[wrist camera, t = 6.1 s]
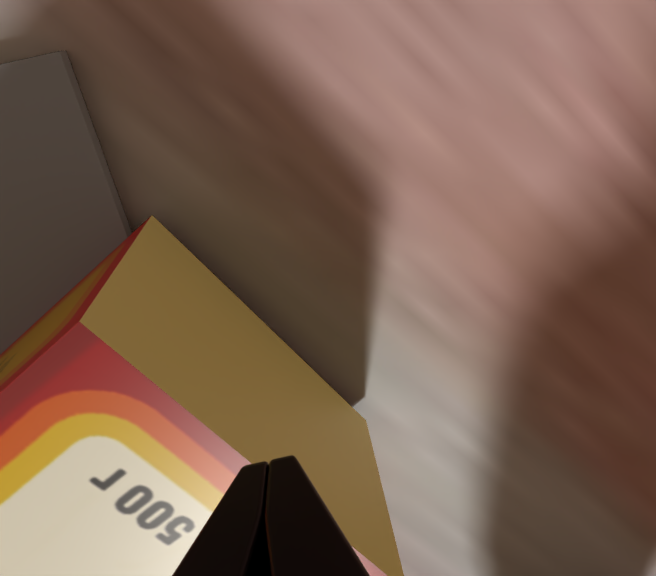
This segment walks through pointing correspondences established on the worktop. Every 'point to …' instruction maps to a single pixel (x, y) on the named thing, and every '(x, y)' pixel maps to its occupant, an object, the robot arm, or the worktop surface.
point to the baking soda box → (163, 421)
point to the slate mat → (49, 191)
